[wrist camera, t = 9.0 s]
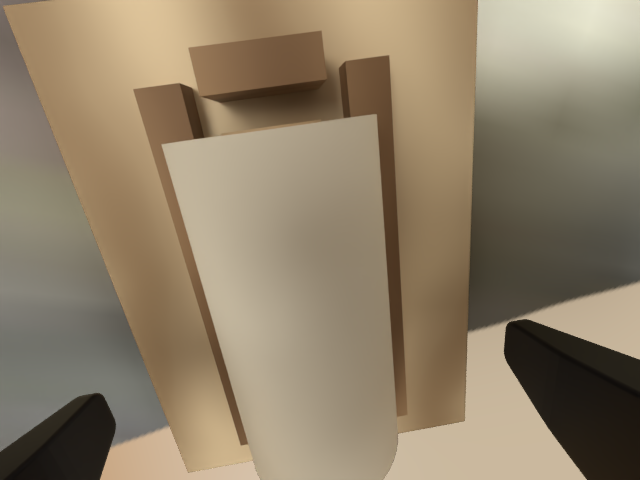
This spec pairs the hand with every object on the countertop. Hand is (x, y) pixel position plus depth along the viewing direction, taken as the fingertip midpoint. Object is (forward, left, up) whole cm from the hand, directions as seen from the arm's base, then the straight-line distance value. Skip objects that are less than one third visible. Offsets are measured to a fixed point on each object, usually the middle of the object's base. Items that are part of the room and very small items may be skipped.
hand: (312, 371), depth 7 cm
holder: (0, 0, -6) cm, 6 cm away
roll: (0, 0, -5) cm, 5 cm away
